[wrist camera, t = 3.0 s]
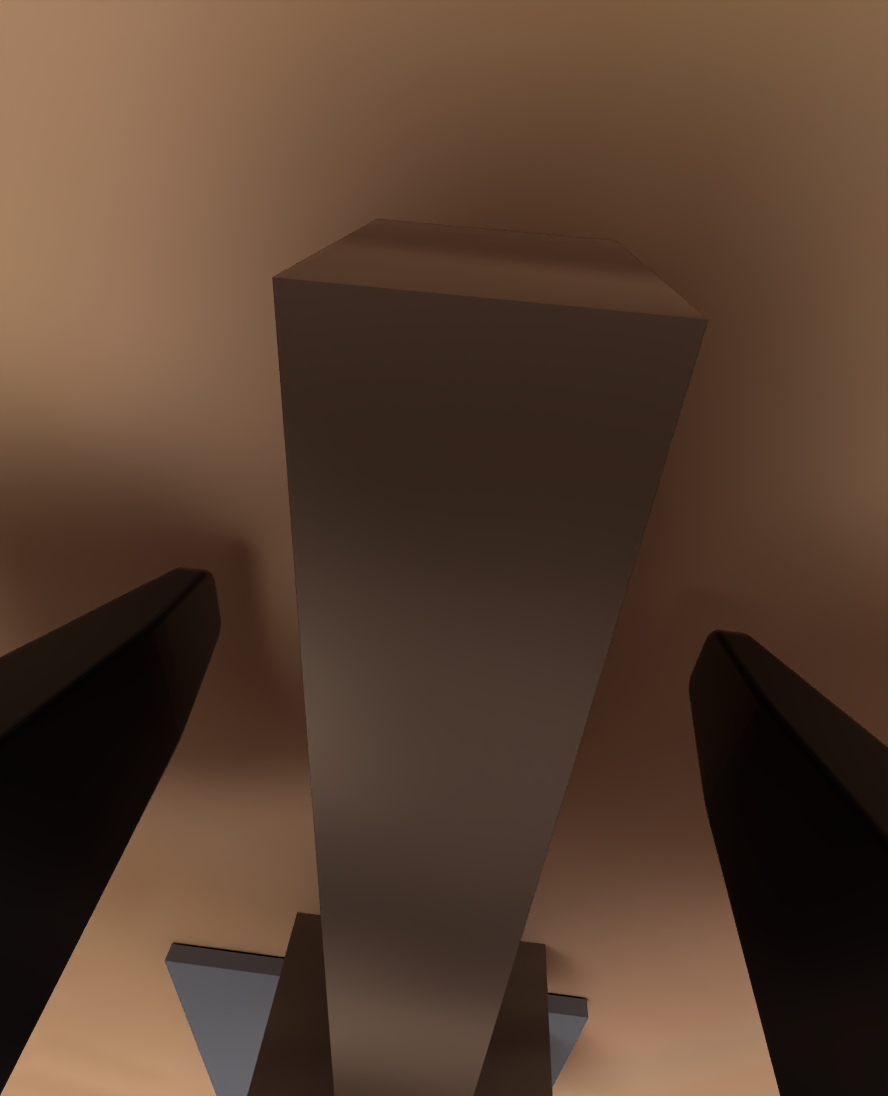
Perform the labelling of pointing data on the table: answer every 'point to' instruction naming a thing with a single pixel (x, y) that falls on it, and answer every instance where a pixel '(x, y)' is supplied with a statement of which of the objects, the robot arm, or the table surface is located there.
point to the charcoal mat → (245, 1002)
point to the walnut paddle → (453, 623)
